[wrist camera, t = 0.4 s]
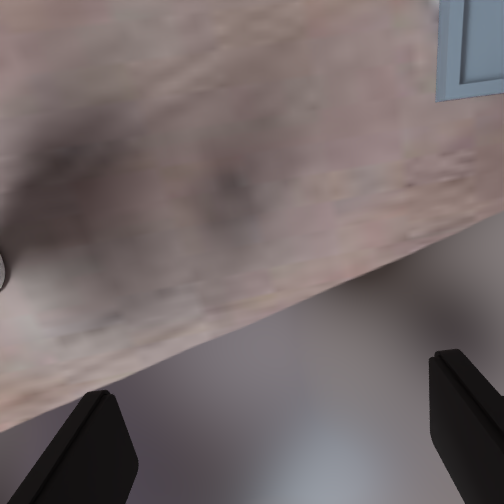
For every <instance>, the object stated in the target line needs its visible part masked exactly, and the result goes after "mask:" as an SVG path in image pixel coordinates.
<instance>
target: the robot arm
mask: <svg viewBox="0 0 504 504" xmlns="http://www.w3.org/2000/svg"><path fill="white" fill-rule="evenodd" d="M429 400H430V434H431V438H432V441H433V444H434V446H435V448H436V450H437V452H438V453H439V456H440V458H441V459H442V461H443V463H444V465H445V467H446V469H447V471H448V472H449V474H450V476H451V478H452V480H453V482H454V484H455V486H456V487H457V489H458V491H459V493H460V495H461V497H462V498H463V500H464V502H465V504H504V396H501V395H500V394H499V393H498V392H497V391H496V390H495V388H494V387H493V386H492V385H491V384H490V383H489V382H488V380H487V379H486V378H485V377H484V376H483V375H482V374H481V373H480V372H479V370H478V369H477V368H476V367H475V366H474V365H473V364H472V363H471V361H470V360H469V359H468V358H467V357H466V356H465V355H464V354H463V353H462V352H461V351H460V350H459V349H452V350H443V351H437V352H435V357H431V358H430V359H429ZM137 472H138V458H137V455H136V452H135V450H134V447H133V444H132V441H131V439H130V436H129V433H128V430H127V428H126V425H125V422H124V420H123V417H122V414H121V411H120V408H119V406H118V403H117V400H116V398H115V396H114V395H113V394H110V393H109V392H108V391H107V390H101V391H92V392H87V393H86V394H85V395H84V396H83V398H82V399H81V400H80V402H79V403H78V405H77V406H76V408H75V409H74V410H73V412H72V413H71V414H70V416H69V417H68V419H67V420H66V421H65V423H64V424H63V426H62V427H61V428H60V430H59V431H58V433H57V434H56V436H55V437H54V438H53V440H52V441H51V443H50V444H49V446H48V447H47V448H46V450H45V451H44V452H43V454H42V455H41V457H40V458H39V460H38V461H37V462H36V464H35V465H34V467H33V468H32V469H31V471H30V472H29V474H28V475H27V476H26V478H25V479H24V481H23V482H22V483H21V485H20V486H19V488H18V489H17V490H16V492H15V493H14V495H13V496H12V497H11V499H10V500H9V502H8V503H7V504H125V503H126V500H127V498H128V495H129V493H130V490H131V488H132V485H133V482H134V480H135V477H136V475H137Z"/></svg>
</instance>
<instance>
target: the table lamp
mask: <svg viewBox="0 0 504 504" xmlns="http://www.w3.org/2000/svg"><path fill="white" fill-rule="evenodd" d="M4 278H5V268H4V263H3V260H2V257H1V255H0V288H1V287H2V285H3V282H4Z"/></svg>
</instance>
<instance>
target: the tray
mask: <svg viewBox="0 0 504 504" xmlns="http://www.w3.org/2000/svg"><path fill="white" fill-rule="evenodd" d="M503 93H504V0H440V6H439V30H438V55H437V79H436V102H441V101H449V100H457V99H464V98H472V97H480V96H487V95H495V94H503Z"/></svg>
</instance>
